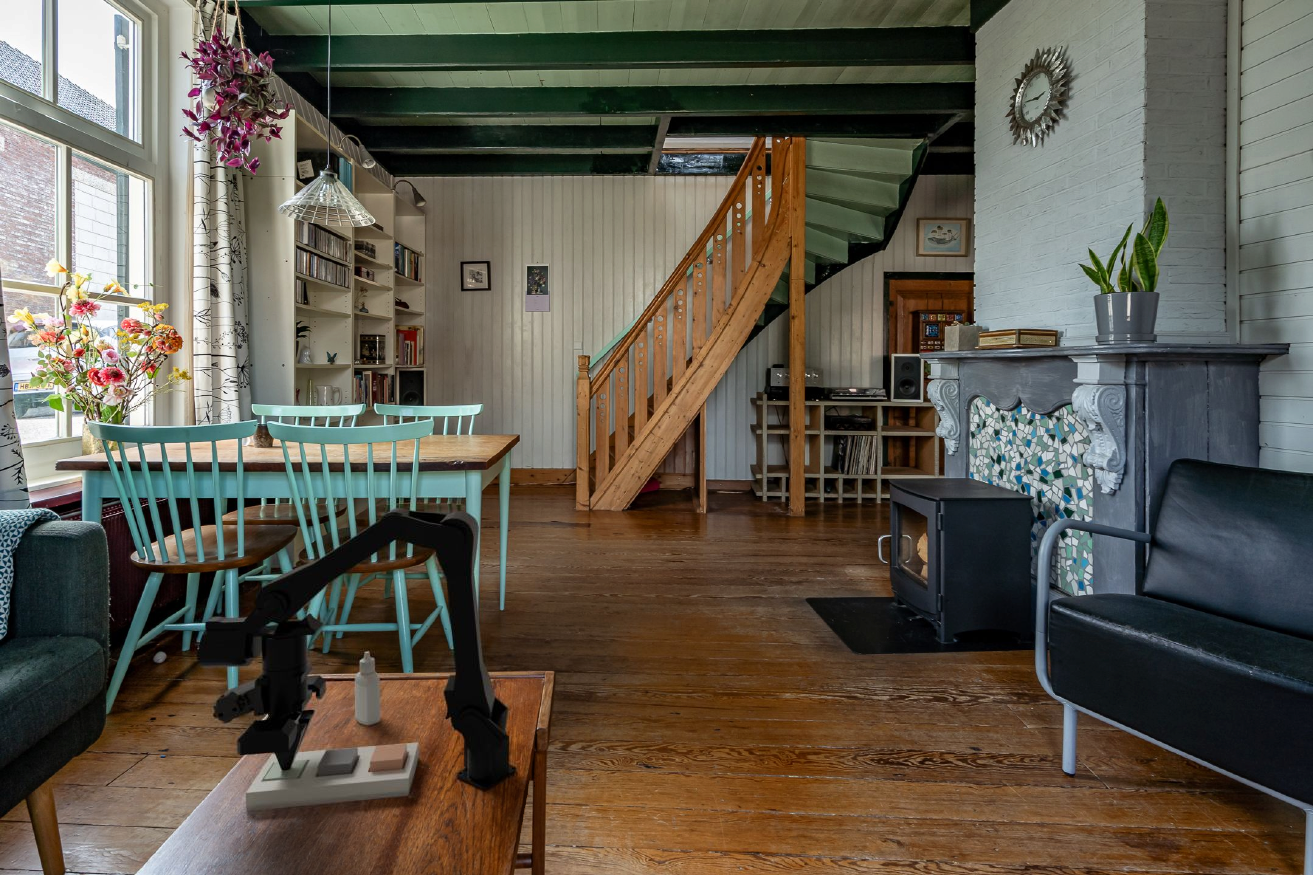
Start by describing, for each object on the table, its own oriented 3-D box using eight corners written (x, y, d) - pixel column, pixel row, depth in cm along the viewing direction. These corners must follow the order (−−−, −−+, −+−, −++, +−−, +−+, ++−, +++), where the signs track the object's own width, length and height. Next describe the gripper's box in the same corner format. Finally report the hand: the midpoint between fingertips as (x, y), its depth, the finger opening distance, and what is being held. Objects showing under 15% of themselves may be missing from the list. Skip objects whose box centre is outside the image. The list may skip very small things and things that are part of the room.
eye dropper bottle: (351, 728, 115) (351, 659, 115) (356, 713, 121) (355, 647, 120) (379, 725, 117) (379, 657, 116) (382, 710, 122) (382, 645, 121)
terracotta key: (406, 756, 103) (406, 743, 103) (402, 772, 99) (402, 758, 99) (376, 758, 102) (376, 745, 102) (370, 774, 98) (369, 761, 98)
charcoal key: (357, 760, 102) (357, 747, 102) (350, 776, 98) (350, 763, 97) (326, 762, 101) (326, 749, 101) (317, 779, 97) (317, 765, 97)
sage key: (307, 772, 100) (307, 759, 100) (298, 789, 96) (297, 775, 96) (275, 775, 100) (274, 762, 99) (264, 792, 95) (263, 778, 95)
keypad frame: (418, 758, 106) (418, 742, 106) (408, 795, 97) (408, 777, 96) (272, 770, 102) (271, 754, 102) (246, 811, 92) (245, 792, 92)
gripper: (248, 642, 104) (250, 740, 105) (191, 696, 86) (193, 814, 87) (326, 639, 107) (327, 735, 108) (286, 690, 88) (288, 805, 89)
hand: (286, 769), depth 98 cm, fingers closed, pressing on sage key
